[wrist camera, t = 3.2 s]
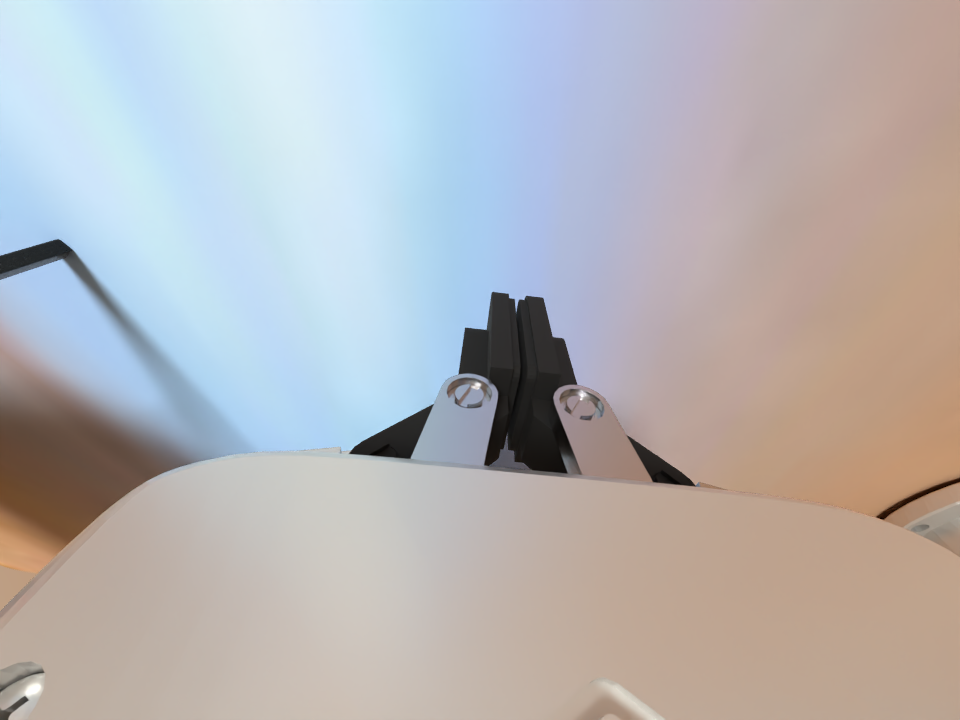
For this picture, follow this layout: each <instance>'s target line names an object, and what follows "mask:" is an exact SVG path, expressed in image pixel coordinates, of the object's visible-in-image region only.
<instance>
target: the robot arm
mask: <svg viewBox="0 0 960 720" xmlns="http://www.w3.org/2000/svg"><path fill="white" fill-rule="evenodd" d="M507 433H508V450H514V455H515V462H522V463H524V464H526V465H527V466H528V467H529V468H530V470H523V469H513V468H502V467H492V466H489V465H490V464H492V463H493V462H494V461H496V460H497V459H498V458H499V454H500V449H503V448H504V444H505V440H506V435H507ZM0 720H960V482H959V483H956V484H952V485H950V486H947V487H944V488H942V489H939V490H937V491H934V492H931V493H929V494H926V495H924V496H922V497H920V498H918V499H916V500H914V501H912V502H910V503H908V504H906V505H904V506H902V507H901V508H899V509H898V510H896V511H894V512H893V513H891V514H889V515H888V516H887V517H886V518H885V519H883V520H882V519H879V518H876V517H873V516H869V515H866V514H863V513H859V512H856V511H852V510H849V509H846V508H842V507H837V506H832V505H828V504H823V503H818V502H813V501H807V500H800V499H793V498H786V497H778V496H772V495H764V494H756V493H747V492H739V491H730V490H726V489H722V488H719V487H715V486H712V485H708V484H705V483H701V482H698V484H697V485H696V486H695V485H694V483H693V482H692V481H691V480H690V479H689V478H688V477H686V476H685V475H684V474H683V473H682V472H680V471H679V470H677V469H676V468H674V467H673V466H671V465H670V464H668V463H667V462H665V461H664V460H663V459H661V458H660V457H658V456H657V455H655V454H654V453H652V452H651V451H649V450H648V449H646V448H645V447H643V446H642V445H641V444H639V443H638V442H636V441H635V440H633V439H632V438H630V437H629V436H627V435H626V434H625V432H624V430H623V428H622V427H621V425H620V423H619V421H618V419H617V418H616V416H615V414H614V412H613V411H612V409H611V407H610V405H609V404H608V402H607V401H606V400H605V399H604V397H602V396H601V395H600V394H599V393H597V392H596V391H594V390H592V389H590V388H587V387H584V386H580V385H577V382H576V379H575V375H574V372H573V368H572V365H571V361H570V358H569V354H568V351H567V347H566V344H565V341H564V339H562V338H554V337H552V332H551V328H550V324H549V320H548V316H547V311H546V307H545V303H544V299H543V298H540V297H532V296H526V297H525V300H519V302H518V306H517V312H516V309H515V299H510V298H509V294H505V293H496V292H492V295H491V302H490V309H489V317H488V324H487V330H481V329H472V328H465V332H464V340H463V347H462V354H461V361H460V368H459V374H458V375H455V376H453V377H450V378H449V379H448V380H446V381H445V382H444V384H443V385H442V387H441V389H440V391H439V394H438V396H437V398H436V401H435V403H434V404H433V405H431V406H429V407H427V408H425V409H423V410H421V411H419V412H417V413H416V414H414V415H412V416H410V417H408V418H406V419H404V420H402V421H400V422H398V423H397V424H395V425H393V426H391V427H389V428H387V429H385V430H383V431H381V432H379V433H377V434H376V435H374V436H372V437H370V438H368V439H366V440H364V441H362V442H361V443H360V444H358V445H357V446H355V447H354V448H353V449H352V450H351V451H341V447H333V448H322V449H311V450H301V451H262V452H253V453H244V454H235V455H228V456H223V457H218V458H214V459H209V460H204V461H199V462H195V463H192V464H188V465H185V466H181V467H179V468H176V469H173V470H170V471H167V472H164V473H162V474H160V475H158V476H156V477H154V478H152V479H150V480H148V481H146V482H144V483H143V484H141V485H140V486H138V487H137V488H135V489H133V490H132V491H130V492H129V493H128V494H126V495H125V496H124V497H122V498H121V499H120V500H118V501H117V502H116V503H114V504H113V505H112V506H111V507H109V508H108V509H107V510H106V511H105V512H103V513H102V514H101V515H100V516H99V517H98V518H96V519H95V520H94V521H93V522H92V523H91V524H90V525H89V526H87V527H86V528H85V529H84V530H83V531H82V532H81V533H80V534H79V535H77V536H76V537H75V538H74V539H73V540H72V541H71V542H70V543H69V544H68V545H67V546H66V547H64V548H63V549H62V550H61V551H60V552H59V553H58V554H57V555H56V556H55V557H54V558H53V559H52V560H51V561H50V562H49V563H48V564H47V565H46V566H45V567H44V568H43V569H42V570H41V571H40V572H38V573H37V574H36V575H35V577H33V578H32V580H31V581H30V582H29V583H28V584H27V585H26V586H25V587H24V588H23V589H22V590H21V591H20V592H19V593H18V594H17V595H16V596H15V597H14V598H13V599H12V600H11V601H10V602H9V603H8V604H7V605H6V606H5V607H4V608H3V609H2V610H1V611H0Z"/></svg>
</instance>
